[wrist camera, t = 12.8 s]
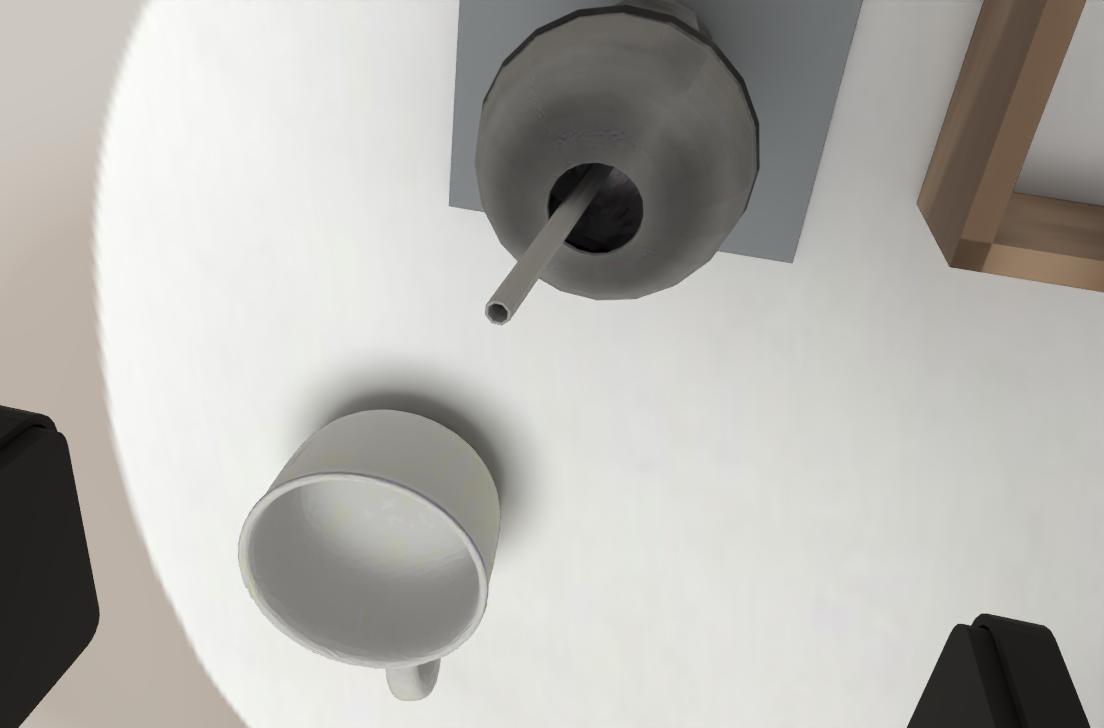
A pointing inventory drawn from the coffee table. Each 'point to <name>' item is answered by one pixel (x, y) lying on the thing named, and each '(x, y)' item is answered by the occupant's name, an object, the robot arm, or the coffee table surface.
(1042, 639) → the robot arm
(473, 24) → the slate mat
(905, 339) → the coffee table surface
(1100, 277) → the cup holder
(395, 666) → the teacup
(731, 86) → the beverage cup
